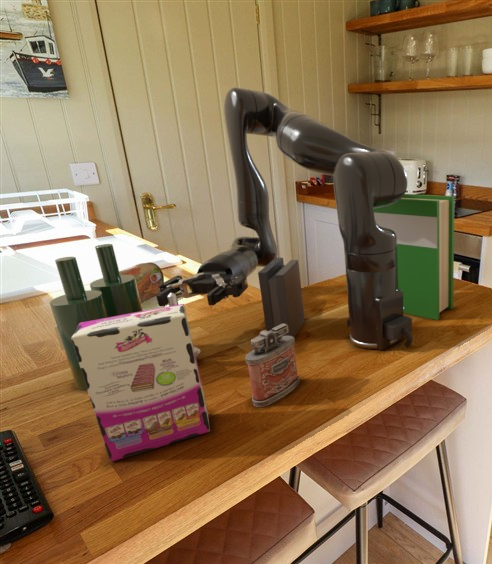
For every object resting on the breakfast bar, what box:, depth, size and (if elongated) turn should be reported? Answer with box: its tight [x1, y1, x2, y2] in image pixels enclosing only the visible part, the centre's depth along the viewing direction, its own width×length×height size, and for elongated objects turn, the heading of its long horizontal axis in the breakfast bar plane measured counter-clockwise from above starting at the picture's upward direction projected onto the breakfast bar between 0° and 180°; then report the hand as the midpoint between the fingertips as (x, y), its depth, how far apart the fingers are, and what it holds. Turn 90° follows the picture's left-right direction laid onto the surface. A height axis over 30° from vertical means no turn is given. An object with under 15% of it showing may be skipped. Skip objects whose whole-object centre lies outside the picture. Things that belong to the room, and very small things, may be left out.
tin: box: [119, 262, 165, 303], centre depth 101 cm, size 15×3×8 cm, turn 168°
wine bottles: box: [49, 243, 144, 391], centre depth 68 cm, size 14×7×20 cm, turn 178°
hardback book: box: [373, 193, 455, 321], centre depth 90 cm, size 18×7×24 cm, turn 58°
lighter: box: [244, 324, 301, 408], centre depth 61 cm, size 8×3×10 cm, turn 148°
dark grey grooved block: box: [257, 257, 306, 338], centre depth 81 cm, size 4×10×14 cm, turn 178°
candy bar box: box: [71, 303, 211, 462], centre depth 51 cm, size 11×5×16 cm, turn 117°
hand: (184, 300), depth 71 cm, fingers open, 8 cm apart
